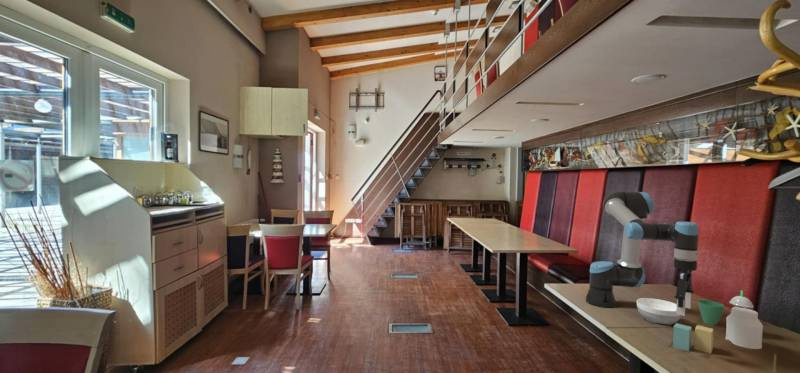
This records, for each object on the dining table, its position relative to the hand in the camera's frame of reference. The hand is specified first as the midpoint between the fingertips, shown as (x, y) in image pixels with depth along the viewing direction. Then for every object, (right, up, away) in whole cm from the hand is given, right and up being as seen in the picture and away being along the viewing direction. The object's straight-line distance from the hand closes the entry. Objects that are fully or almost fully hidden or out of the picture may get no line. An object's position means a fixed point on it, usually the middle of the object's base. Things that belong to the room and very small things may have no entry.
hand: (683, 311), depth 151 cm
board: (+3, -16, 0) cm, 16 cm away
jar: (+30, -17, +6) cm, 35 cm away
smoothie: (+41, -17, +18) cm, 48 cm away
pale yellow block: (+7, -15, -1) cm, 17 cm away
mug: (+38, -16, +32) cm, 52 cm away
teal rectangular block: (0, -15, 0) cm, 15 cm away
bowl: (+11, -16, +30) cm, 36 cm away
